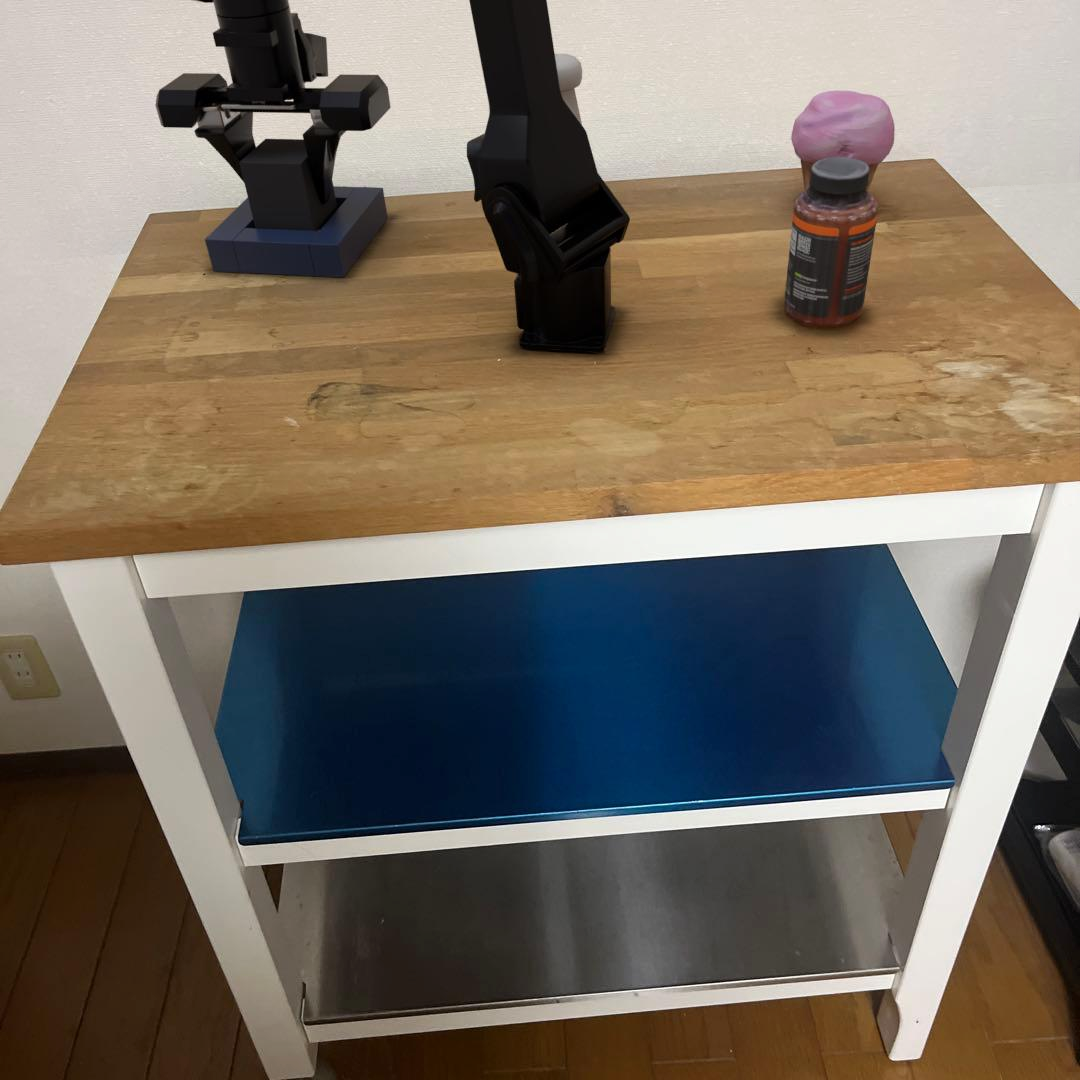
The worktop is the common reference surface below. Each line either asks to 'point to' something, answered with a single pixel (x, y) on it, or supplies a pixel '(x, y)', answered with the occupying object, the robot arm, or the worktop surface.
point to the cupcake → (843, 130)
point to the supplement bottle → (831, 244)
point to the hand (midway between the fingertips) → (294, 201)
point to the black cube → (283, 187)
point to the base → (300, 239)
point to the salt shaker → (569, 80)
